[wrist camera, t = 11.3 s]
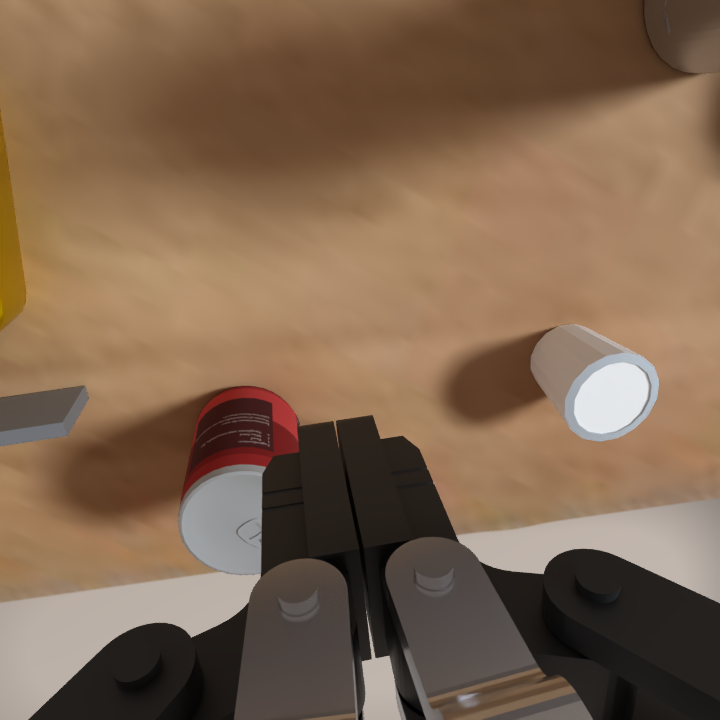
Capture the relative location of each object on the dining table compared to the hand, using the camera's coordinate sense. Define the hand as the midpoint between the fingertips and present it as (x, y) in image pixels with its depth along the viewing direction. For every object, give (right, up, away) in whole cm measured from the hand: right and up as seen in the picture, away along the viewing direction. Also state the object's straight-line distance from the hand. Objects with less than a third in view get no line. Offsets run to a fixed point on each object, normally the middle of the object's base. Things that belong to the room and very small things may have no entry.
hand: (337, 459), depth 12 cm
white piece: (+16, +2, +34) cm, 38 cm away
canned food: (-8, -3, +32) cm, 33 cm away
